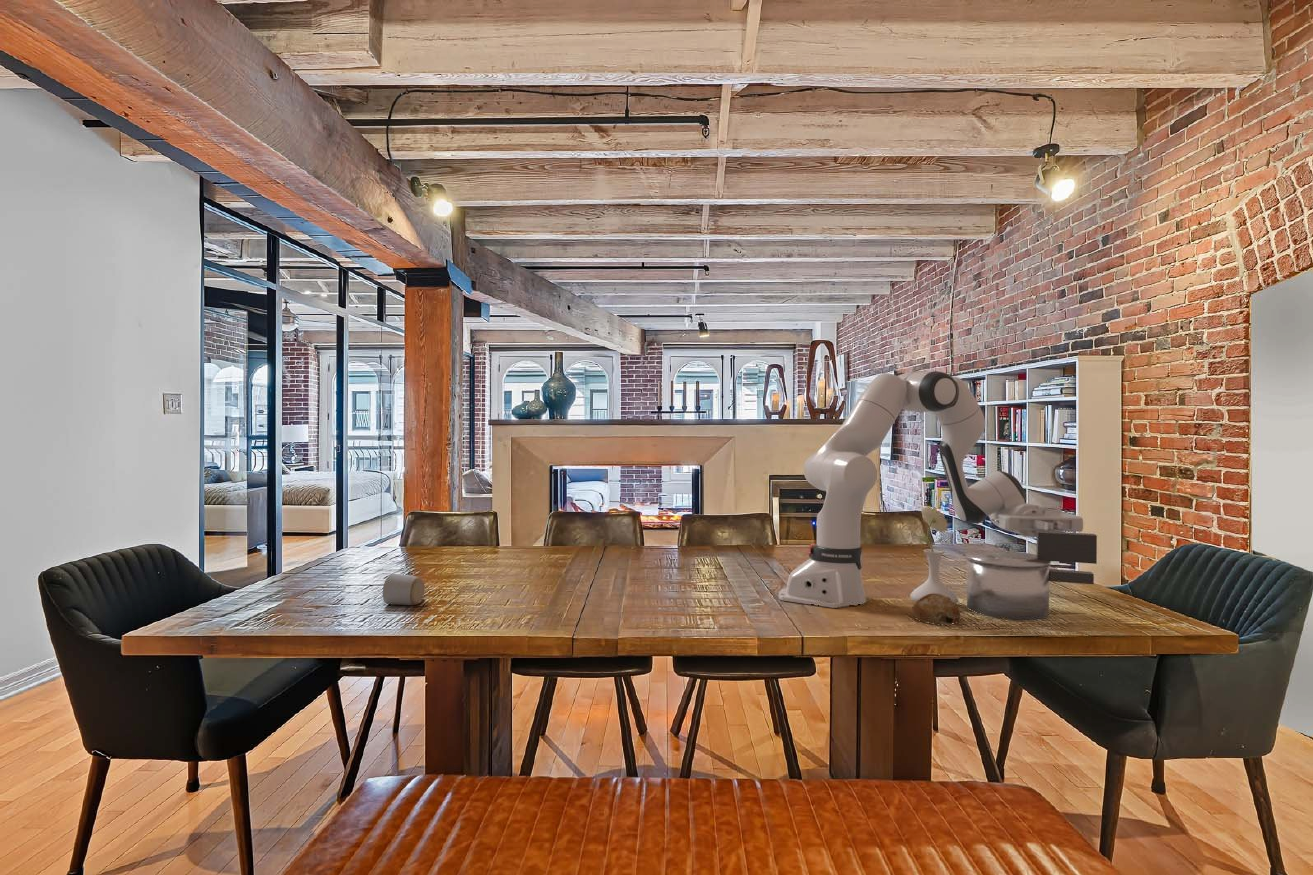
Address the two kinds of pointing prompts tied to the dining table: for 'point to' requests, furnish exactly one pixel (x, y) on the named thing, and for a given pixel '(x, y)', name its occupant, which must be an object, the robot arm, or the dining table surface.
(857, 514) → the robot arm
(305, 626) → the dining table surface
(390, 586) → the ceramic mug
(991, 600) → the cooker pot
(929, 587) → the flower in vase
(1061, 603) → the dining table surface
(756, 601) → the dining table surface
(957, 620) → the bread roll
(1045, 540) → the cooker lid
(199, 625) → the dining table surface
